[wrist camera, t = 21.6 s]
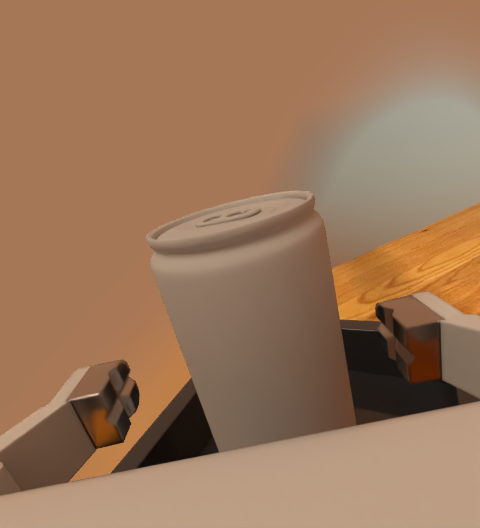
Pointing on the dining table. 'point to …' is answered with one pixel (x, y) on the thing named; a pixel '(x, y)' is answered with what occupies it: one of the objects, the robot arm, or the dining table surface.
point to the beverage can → (256, 317)
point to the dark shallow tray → (362, 389)
